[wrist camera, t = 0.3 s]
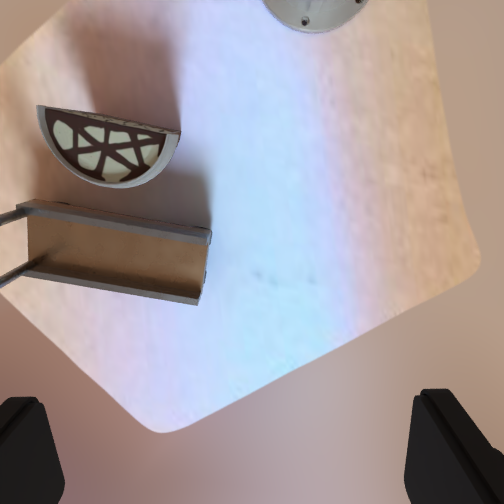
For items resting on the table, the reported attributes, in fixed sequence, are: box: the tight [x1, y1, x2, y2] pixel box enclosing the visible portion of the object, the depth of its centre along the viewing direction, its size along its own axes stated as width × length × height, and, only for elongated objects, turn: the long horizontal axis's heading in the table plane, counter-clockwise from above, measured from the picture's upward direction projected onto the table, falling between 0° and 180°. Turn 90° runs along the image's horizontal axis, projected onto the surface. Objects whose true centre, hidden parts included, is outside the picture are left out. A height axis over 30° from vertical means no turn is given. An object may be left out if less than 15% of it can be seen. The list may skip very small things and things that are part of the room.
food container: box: [36, 105, 181, 188], centre depth 36 cm, size 12×6×10 cm, turn 78°
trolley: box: [0, 199, 212, 306], centre depth 37 cm, size 8×20×15 cm, turn 80°
